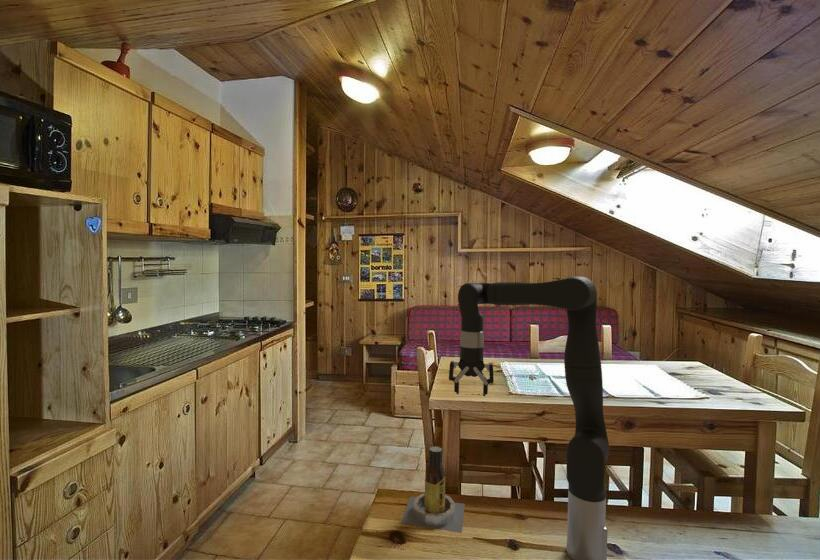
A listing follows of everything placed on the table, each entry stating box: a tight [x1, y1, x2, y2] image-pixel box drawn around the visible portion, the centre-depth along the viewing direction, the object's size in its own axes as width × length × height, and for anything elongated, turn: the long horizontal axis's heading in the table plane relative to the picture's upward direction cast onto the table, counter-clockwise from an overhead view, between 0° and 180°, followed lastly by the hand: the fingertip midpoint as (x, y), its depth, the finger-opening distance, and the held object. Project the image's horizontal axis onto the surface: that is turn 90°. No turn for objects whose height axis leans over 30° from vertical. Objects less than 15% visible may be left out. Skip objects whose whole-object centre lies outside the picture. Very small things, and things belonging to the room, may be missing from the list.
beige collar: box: [413, 492, 456, 527], centre depth 120 cm, size 12×12×3 cm
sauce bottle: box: [424, 446, 446, 514], centre depth 120 cm, size 6×6×20 cm
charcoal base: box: [400, 496, 466, 534], centre depth 120 cm, size 18×14×1 cm
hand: (470, 394), depth 126 cm, fingers open, 8 cm apart
